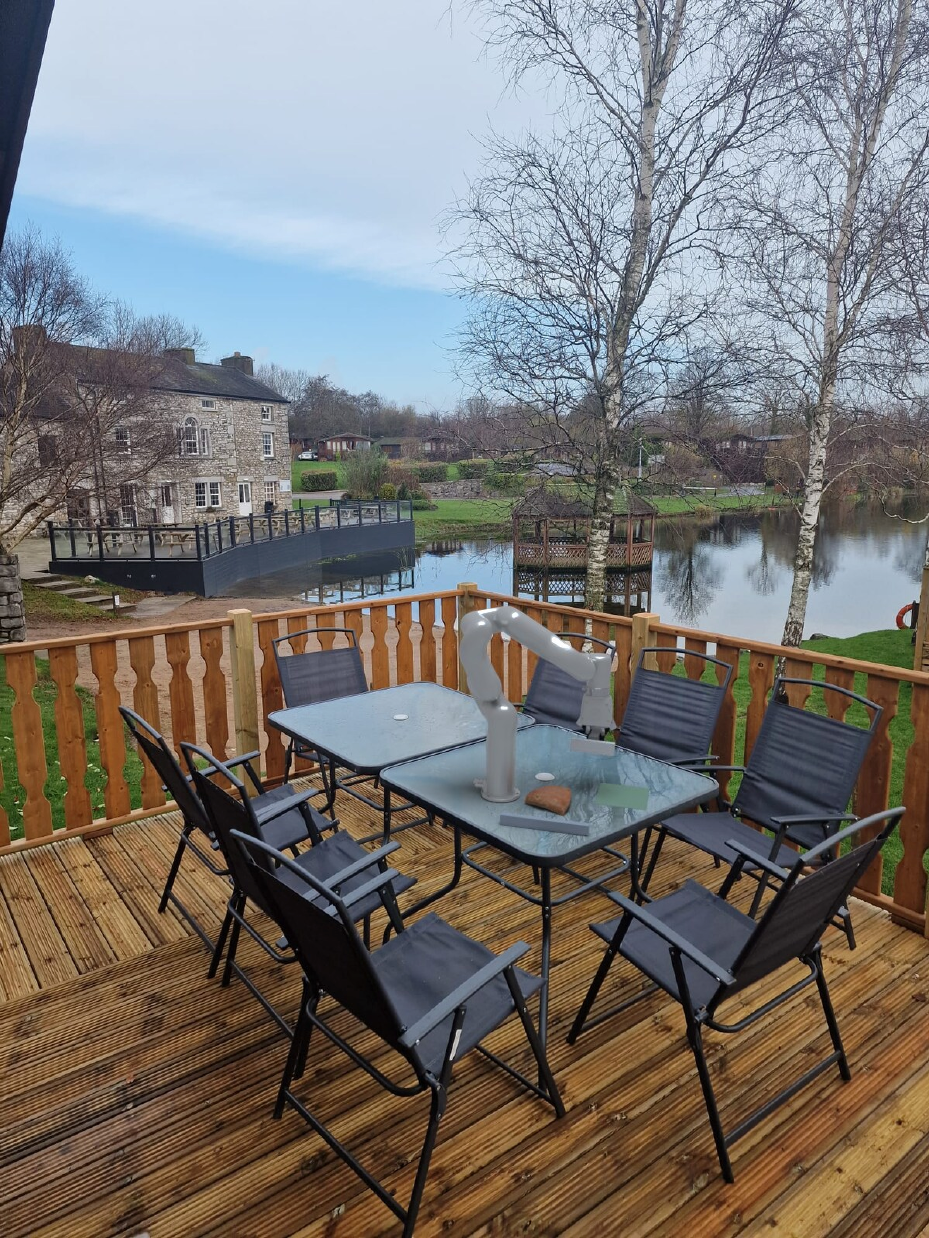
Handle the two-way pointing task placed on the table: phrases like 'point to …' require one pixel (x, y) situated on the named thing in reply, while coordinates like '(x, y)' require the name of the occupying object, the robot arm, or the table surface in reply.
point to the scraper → (592, 744)
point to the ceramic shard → (550, 798)
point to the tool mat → (622, 796)
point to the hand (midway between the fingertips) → (595, 744)
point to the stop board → (544, 823)
